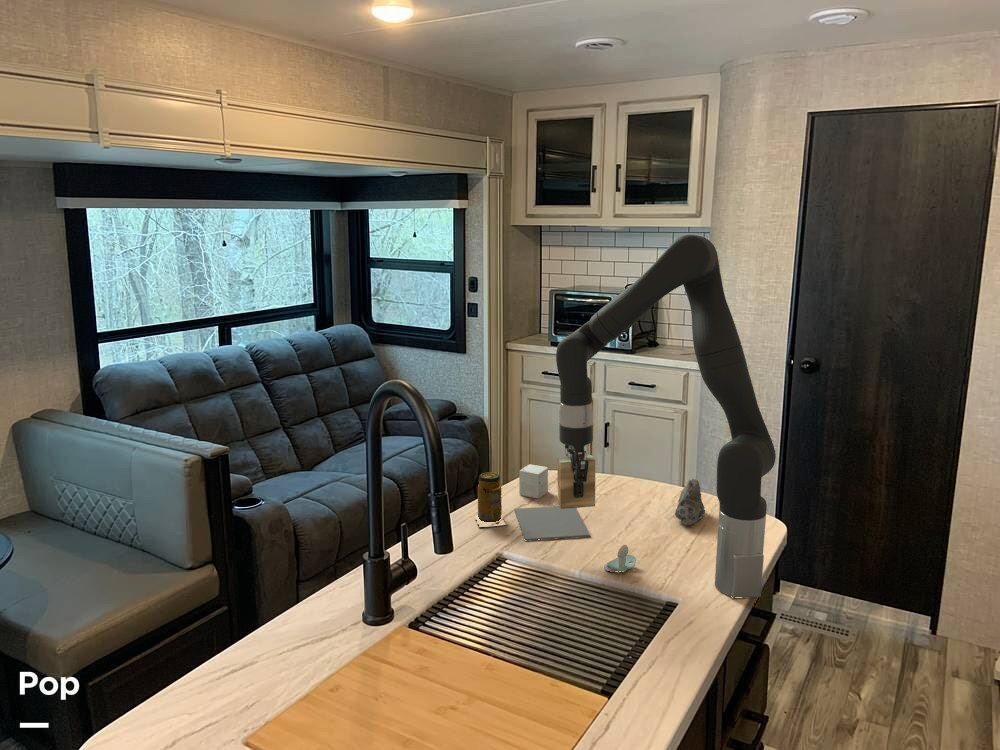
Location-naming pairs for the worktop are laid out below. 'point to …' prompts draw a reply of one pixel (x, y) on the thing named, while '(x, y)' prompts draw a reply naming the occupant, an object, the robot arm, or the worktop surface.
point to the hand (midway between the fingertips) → (576, 493)
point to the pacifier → (621, 561)
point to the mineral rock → (690, 503)
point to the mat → (550, 523)
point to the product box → (533, 481)
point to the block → (566, 484)
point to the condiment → (489, 497)
